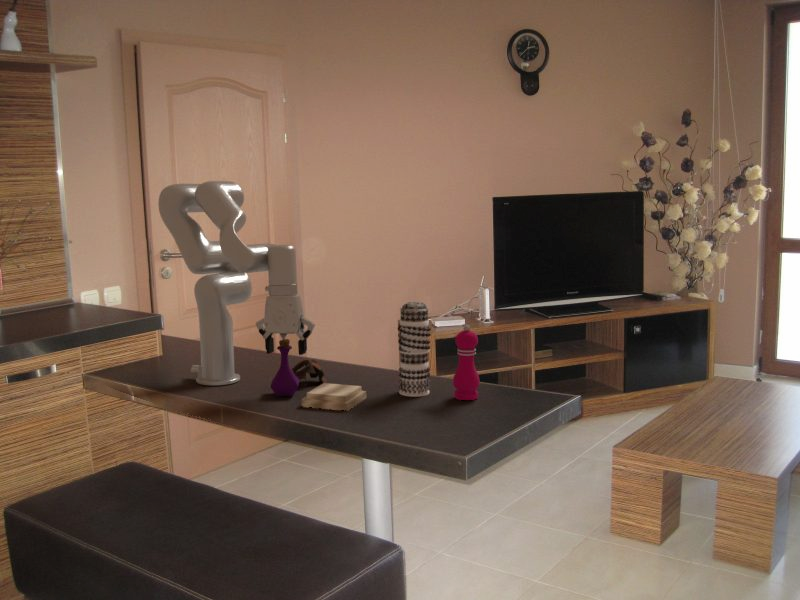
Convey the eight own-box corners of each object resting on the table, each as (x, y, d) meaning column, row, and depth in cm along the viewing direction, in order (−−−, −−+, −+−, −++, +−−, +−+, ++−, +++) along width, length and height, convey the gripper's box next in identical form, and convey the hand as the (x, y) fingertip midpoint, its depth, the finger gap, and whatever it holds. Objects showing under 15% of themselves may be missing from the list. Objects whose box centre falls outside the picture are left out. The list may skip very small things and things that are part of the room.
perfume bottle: (272, 391, 217) (270, 328, 214) (299, 391, 217) (298, 327, 215) (270, 398, 209) (268, 333, 207) (298, 398, 210) (297, 332, 207)
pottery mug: (326, 389, 221) (311, 366, 218) (298, 402, 223) (283, 379, 220) (332, 369, 232) (318, 347, 229) (305, 382, 234) (291, 360, 231)
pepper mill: (482, 395, 212) (483, 323, 209) (476, 402, 205) (476, 327, 202) (456, 393, 214) (457, 322, 211) (449, 400, 207) (450, 326, 204)
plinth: (301, 406, 201) (301, 393, 201) (322, 394, 214) (322, 381, 213) (348, 411, 197) (347, 397, 197) (366, 398, 210) (366, 385, 209)
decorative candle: (392, 395, 212) (392, 304, 209) (404, 387, 221) (404, 300, 217) (424, 398, 209) (424, 306, 206) (435, 390, 218) (435, 301, 214)
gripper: (247, 292, 208) (251, 354, 211) (306, 292, 203) (309, 357, 205) (261, 289, 215) (264, 349, 218) (318, 289, 210) (321, 351, 212)
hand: (286, 353), depth 211 cm, fingers open, 9 cm apart
